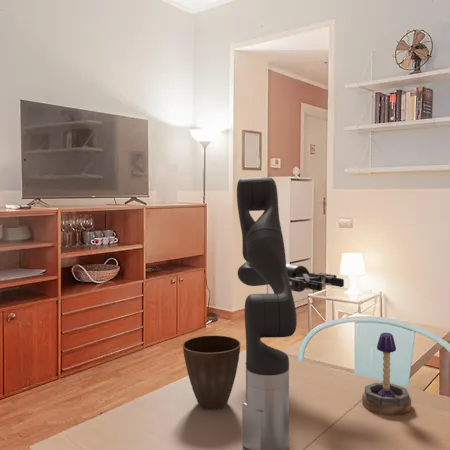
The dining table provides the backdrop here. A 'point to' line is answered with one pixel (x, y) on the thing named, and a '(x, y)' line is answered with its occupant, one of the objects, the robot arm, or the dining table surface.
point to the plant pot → (212, 368)
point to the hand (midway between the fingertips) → (332, 285)
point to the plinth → (386, 408)
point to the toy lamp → (386, 361)
